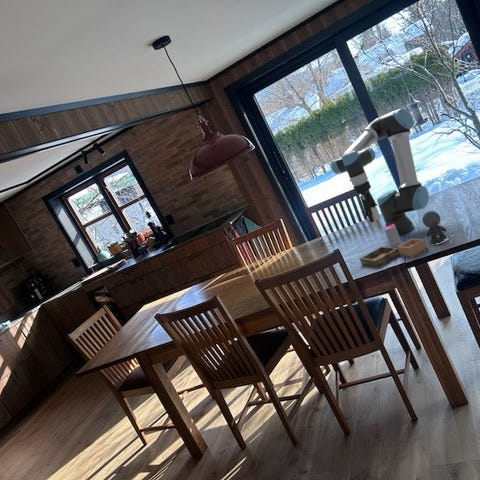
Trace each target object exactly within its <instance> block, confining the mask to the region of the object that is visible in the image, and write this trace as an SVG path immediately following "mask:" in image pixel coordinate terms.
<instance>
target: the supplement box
mask: <svg viewBox="0 0 480 480" xmlns="http://www.w3.org/2000/svg"><path fill="white" fill-rule="evenodd" d="M383 230H384V233H385V236H386V239H387V242H388V244H389V247H393V248H397V247H398V246H399V245H401V244H403V242H402V239H401V237H400V235H399V234H398V231H397V229H396V226H395V225H394V224H392V225H389V226H386V227H385V226H383Z"/></svg>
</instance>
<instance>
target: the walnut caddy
mask: <svg viewBox="0 0 480 480" xmlns="http://www.w3.org/2000/svg"><path fill="white" fill-rule="evenodd" d="M397 257H400V253H399V251H398V248H393V247H390V246H383V245H381V246H379V247H377V248H376V249H374V250H373V251H370V252H369V253H367V254H365V255H363V256H361V257H360V258H359V261H360V263H361V265H362V266H368V267H373V268H380V267H382V266H384V265H385V264H387V263H388V262H390V261H392V260H394V259H396V258H397Z"/></svg>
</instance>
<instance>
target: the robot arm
mask: <svg viewBox="0 0 480 480" xmlns="http://www.w3.org/2000/svg"><path fill="white" fill-rule="evenodd" d="M413 119H414V118H413V117H412V114H411V112H409V111H408V110H407V109H405V108H398V109H395V110H393V111H391V112H388V113H386V114H384V115H381V116H378V117H377V118H375V119H374V120H372V121H371V122H370V123H369V124H368V125H367V126H366V127H365V128H364V129H363V130H362V131H361V134H360V136H359V137H358V138H357V139H356V140H355V141H354V142H353V143H352V144H351V146H349V147H348V148H347V150H345V152H344V153H342V154H341V156H340V157H337V158H335V159H333V160H331V161H332V162H331V163H330V168H331V170H332V172H333V173H334V174H335V175H339V174H343V173H345V172H347V174H348V177H349V182H351V185H352V186H353V190H354V192H355V193H356V194H360V195H361V196H360V197H359V198H360V200H361V203H362V204H361V205H362V207H363V210H364V214H365V215H364V216H365V218H367V220H368V222H369V225H370V226H371V229H372V230H373V229H376V228H378V227H379V226H378V223H377V221H378V220H380V219H381V215H382V217H383V221H384V224H385V226H384V227H386V226H389V225H392V224H394V225H395V226H396V229H397V231H398V234H399V236H402V235H405V234H407V233H408V232H411V231H412V230H414V227H415V226H414V224H413V222H412V220H411V219H410V218H409V217H408V216H407V214H406V213H410V212H414V211H416V212H417V211H419V210H422V209H425V208H426V207H427V206H428V203H429V199H430V196H429V195H430V194H429V190H428V189H427V187H425V186H423V185H422V183H421V182H420V181H419V180H418V177H417V176H418V175H417V171H416V166H415V161H414V156H413V153H412V149H411V144H410V138H409V136H410V135H411V129H412V128H414V120H413ZM385 138H387V139H388V140H389V141H391V145H392V149H393V154H394V159H395V163H396V170H397V174H398V178H399V184H400V185H399V187H398V190H397V189H392V190H389V191H387V192H385V193H384V194H382V195H380V196H378V198H377V199H376V200H377V201H375V199H374V197H373V195H372V194H371V192H370V190H371V187H372V186H371V183H370V181H369V180H368V179H369V178H368V176H367V173H366V171H365V169H364V167H366V166H367V165H369V164H371V163H373V162H374V160H375V158H376V152H375V150H374V149H373V148H372V147H370V146H372V145H374V144H376V143H377V142H378V141H380V140H382V139H385ZM377 206H378V207H379V210H380V212H381V215H380V213H379V210H378V208H377Z"/></svg>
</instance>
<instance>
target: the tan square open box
mask: <svg viewBox="0 0 480 480" xmlns="http://www.w3.org/2000/svg"><path fill="white" fill-rule="evenodd" d="M410 245H412V246H411V247H409V246H410ZM397 248H398V251H399V253H400V255H399V257H404V258H405V257H406V258H412V259H413V258H415V257H416V256H418V255H420V254H422V253H423V252H425V251H427V250H428V245H427V243H426V241H425V239H421V238H410V239H408V240H407V241H405V242H402V244H401V245H399V246H398V247H397Z"/></svg>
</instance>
